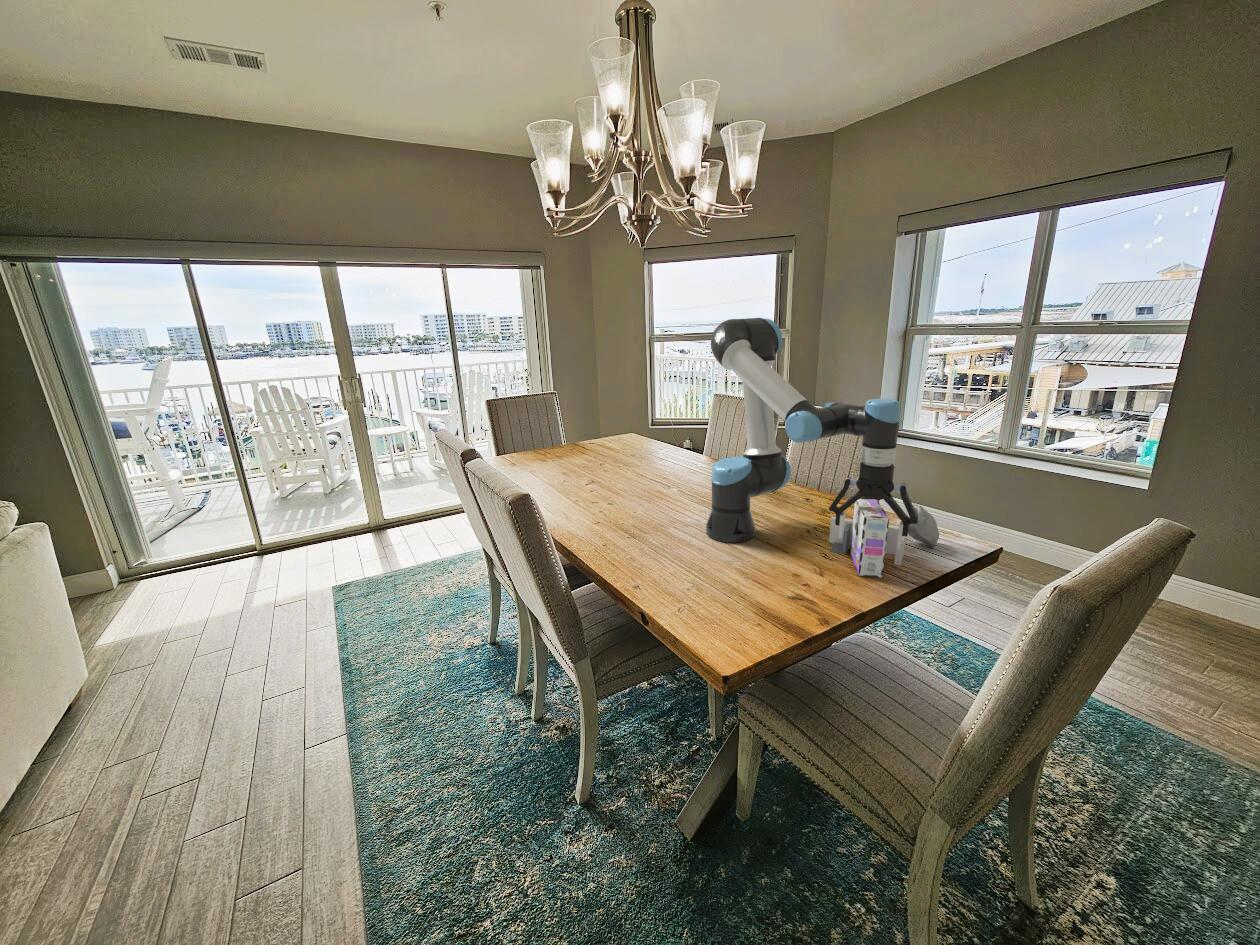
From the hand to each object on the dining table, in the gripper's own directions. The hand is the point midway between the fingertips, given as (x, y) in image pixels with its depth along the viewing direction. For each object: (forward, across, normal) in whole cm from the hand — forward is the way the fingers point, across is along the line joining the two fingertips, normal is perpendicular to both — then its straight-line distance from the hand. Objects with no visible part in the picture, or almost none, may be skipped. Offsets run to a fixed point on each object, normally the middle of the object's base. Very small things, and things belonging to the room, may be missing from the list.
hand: (868, 541), depth 124 cm
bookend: (+7, -8, +8) cm, 13 cm away
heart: (+8, +12, +20) cm, 25 cm away
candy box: (+8, 0, +1) cm, 8 cm away
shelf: (+7, -2, +9) cm, 12 cm away
